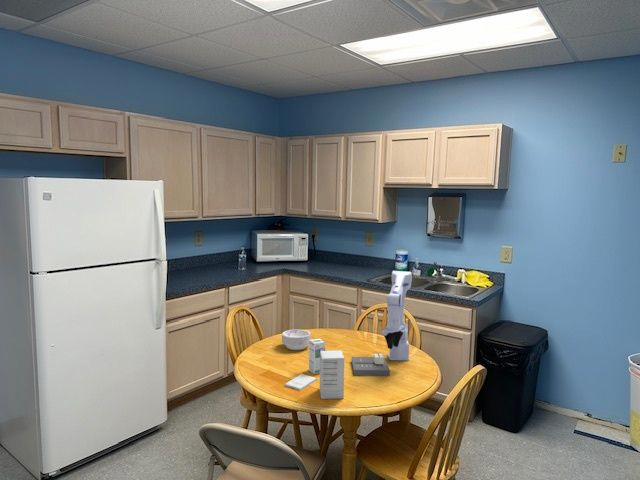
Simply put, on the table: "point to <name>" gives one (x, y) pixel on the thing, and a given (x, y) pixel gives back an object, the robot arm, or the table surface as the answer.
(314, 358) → the syrup box
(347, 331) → the table surface
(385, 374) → the slide fader panel
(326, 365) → the supplement box
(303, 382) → the external hard drive
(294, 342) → the paper bowls
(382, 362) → the fader knob
